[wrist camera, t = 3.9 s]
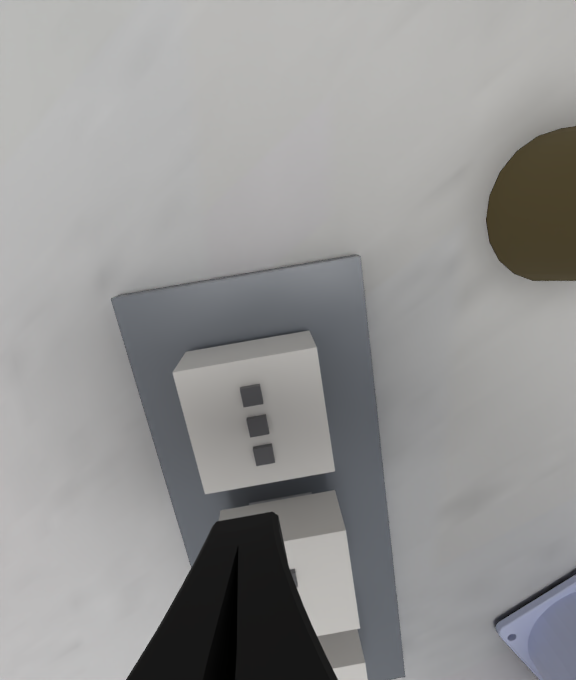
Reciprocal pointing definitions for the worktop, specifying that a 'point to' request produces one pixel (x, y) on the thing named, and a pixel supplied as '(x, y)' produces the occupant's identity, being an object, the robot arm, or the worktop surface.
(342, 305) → the keypad base
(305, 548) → the key two
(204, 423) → the key three
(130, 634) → the worktop surface
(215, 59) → the worktop surface
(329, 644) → the key one
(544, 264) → the cork
